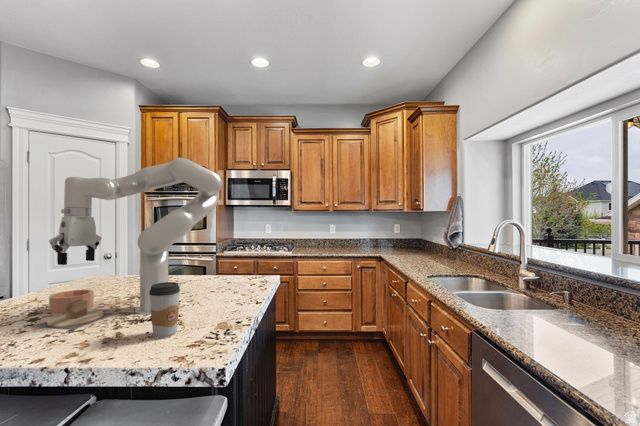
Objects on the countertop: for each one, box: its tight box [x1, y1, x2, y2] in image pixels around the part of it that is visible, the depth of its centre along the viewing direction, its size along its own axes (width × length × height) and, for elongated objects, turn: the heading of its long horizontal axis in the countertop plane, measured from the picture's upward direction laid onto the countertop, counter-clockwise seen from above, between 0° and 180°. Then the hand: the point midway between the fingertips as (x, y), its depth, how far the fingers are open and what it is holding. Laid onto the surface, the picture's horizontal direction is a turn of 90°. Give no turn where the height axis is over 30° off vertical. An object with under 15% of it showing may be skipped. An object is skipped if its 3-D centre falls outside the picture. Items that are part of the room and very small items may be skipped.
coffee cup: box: [149, 281, 181, 339], centre depth 93 cm, size 8×8×15 cm
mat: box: [31, 312, 117, 331], centre depth 105 cm, size 16×16×1 cm
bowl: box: [48, 289, 95, 314], centre depth 118 cm, size 13×13×6 cm
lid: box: [46, 300, 104, 329], centre depth 105 cm, size 15×15×6 cm
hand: (76, 262), depth 106 cm, fingers open, 9 cm apart
